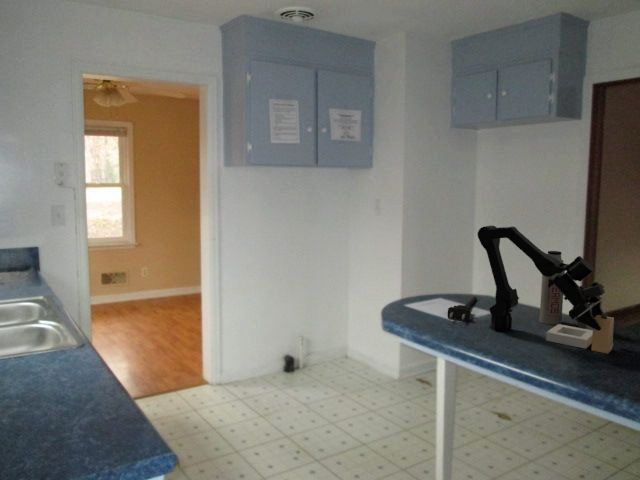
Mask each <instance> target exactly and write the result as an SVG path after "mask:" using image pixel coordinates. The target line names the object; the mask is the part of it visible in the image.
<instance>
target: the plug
mask: <svg viewBox="0 0 640 480" xmlns="http://www.w3.org/2000/svg"><path fill="white" fill-rule="evenodd" d="M595 320H596V321H597V323H598V324H599V326H600V327H601V330H599V331H598V330H596V329H594V328H593V329H592V330H593V335H592V344H591V349H590V350H591V351H593V352H599V353H602V354H608V355H609V353H611V351H612V348H613V347H614V342H613V339H614V326H615V325H614V324H615V318H614V317H611V316H608V314H607V313H604V314H601V316H600V315H597V316H596V317H595Z"/></svg>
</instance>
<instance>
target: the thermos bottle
mask: <svg viewBox="0 0 640 480" xmlns="http://www.w3.org/2000/svg"><path fill="white" fill-rule="evenodd" d="M547 254H549V255H551V256H552V257H554V258H556V259H557V260H559V261H560V262H561V263H564V260H563V259H562V252H561V251H558V250H549V251H547ZM565 273H566V271H564V272H562V273H558V274H556V275H553V276H551V277H546V276H544V275H542V274H541V286H540V287H541V288H540V289H541V290H540V304H539V305H540V306H539V322H540V323H542V324H545V325H553V326H554V325H555V326H556V325H558V324H560V325H562V321H563V320H562V318H563V306H564V305H563V304H564V295H563V294H562V293H561V292H560V290H559V289H558V288H557V287H556V286H555V285H553V286H551V287H548V279H554V278H555V277H556V276H557V275H559V274H561V275H564V274H565Z"/></svg>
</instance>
